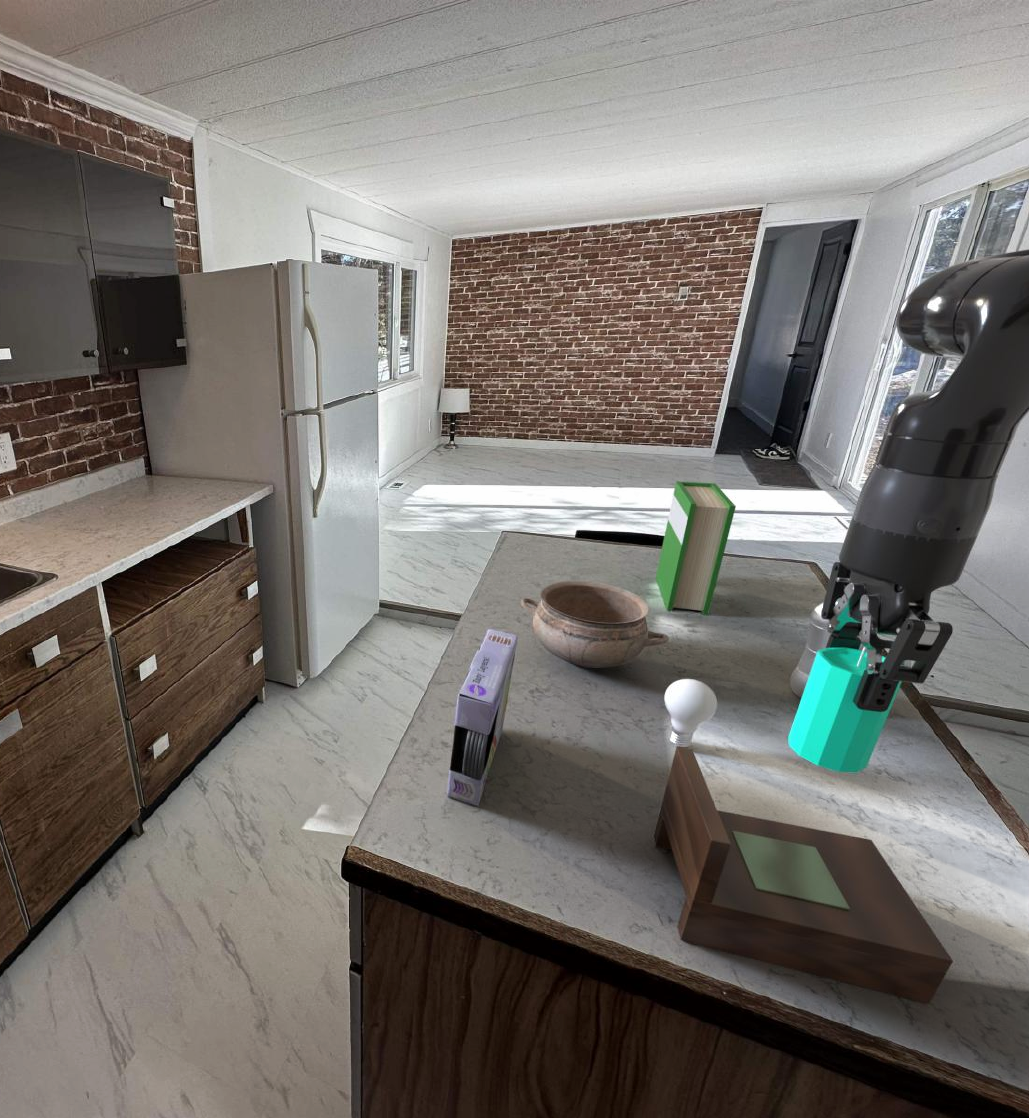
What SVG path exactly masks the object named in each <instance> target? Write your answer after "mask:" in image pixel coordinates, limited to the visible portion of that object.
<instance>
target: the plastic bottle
mask: <svg viewBox="0 0 1029 1118" xmlns="http://www.w3.org/2000/svg"><path fill="white" fill-rule="evenodd" d="M840 599H841V598H839V599H837V602H836V604H837V603H838V601H839V600H840ZM823 603H824V601H823V602H821V603H819V604H818V605H816V606H815V607H814V608H813V609H812V611H811V612H810V616H809V627H808V635H807V639H806V644H805V647H804V651H803V653H802V655H801V657H800V658H799V659H800V660H799V661H798V663H797V665H796V667H795V668H794V670H793V671H792V673H791V675H790V681H789V687H790V688H791V691H792V692H793V693H794V694H795V695H796V696H797V697H799V698H801V699H802V696H803V693H804V690H805V687H806V684H807V681H808V678H809V675H810V672H811V669H812V667H813V664H814V661H815V658H816V655H817V652H818V650H821V649H825V648H826V645H827V643H828V640H829V637H830V634H831V633H829V632H828V630H827V625H828V623H829V620H826V619H822V617H821V611H822V607H823ZM857 637H859V638H860V639H861V636H857Z"/></svg>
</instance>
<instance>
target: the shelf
mask: <svg viewBox="0 0 1029 1118" xmlns="http://www.w3.org/2000/svg"><path fill="white" fill-rule="evenodd" d="M655 824H656V825H655V829H654V831H653V832H654V833H653V836H652V837H653V841H654V844H655V847H657V848H662V849H666V850H671V851H672V853H673V857H674V861H675V864H676V868H677V871H678V874H679V877H680V881H681V885H682V887H683V891H684V895H685V899H684V903H683V907H682V910H681V913H680V917H679V920H678V923H677V926H676V927H677V930H678V931H677V932H678V935H679V938H680V940H681V941H683V942H687V943H691V944H695V945H699V946H703V947H705V948H710V949H713V950H714V949H715V950H718V951H721V952H726V953H730V954H733V955H737V956H741V957H745V958H748V959H752V960H757V961H761V962H765V963H768V964H772V965H777V966H780V967H784V968H788V969H791V970H795V971H800V972H803V973H807V974H811V975H815V976H819V977H823V978H826V979H830V980H834V981H838V982H842V983H846V984H849V985H853V986H857V987H862V988H865V989H868V990H873V991H877V992H881V993H884V994H888V995H892V996H897V997H900V998H903V999H909V1000H912V1001H916V1002H920V1003H924V1004H928V1005H929V1004H930V1003H931V1001H932V999H933V998H934V996H935V994H936V992H937V991H938V989H939V987H940V985H941V984H942V982H943V980H944V979H945V976H946V975H947V973H948V971H949V969H950V968H951V966H952V964H953V962H954V961H953V958H952V957H951V956H950V954H949V953H948V952H947V950H946V948H945V947H944V945H943V944H942V942H941V941H940V939H939V938H938V937H937V935H936V933H935V932H934V931H933V929H932V927H931V926H930V924H929V923H928V922H927V920H926V919H925V917H924V916H923V914H922V913H921V911H920V910H919V909H918V907H917V905H916V904H915V902H914V901H913V899H912V898H911V896H910V894H909V893H908V892H907V890H906V889H905V888H904V886H903V884H902V883H901V882H900V880H899V879H898V877H897V876H896V874H895V872H894V871H893V870H892V868H891V867H890V866H889V864H888V862H887V860H886V859H885V858H884V856H883V855H882V853H881V852H880V850H879V849H878V847H877V846H876V844H875V843H874V842H873V840H872V839H869V838H864V837H858V836H854V835H848V834H843V833H839V832H838V833H837V832H832V831H827V830H823V829H817V828H812V827H807V826H802V825H798V824H797V825H796V824H793V823H791V824H790V823H786V822H780V821H776V820H770V819H765V818H759V817H755V816H749V815H745V814H740V813H734V812H729V811H723V810H718V809H717V807H716V804H715V801H714V799H713V797H712V794H711V792H710V789H709V787H708V784H707V783H706V780H705V776H704V774H703V772H702V770H701V767H700V765H699V762H698V760H697V757H696V754H695V752H694V750H693V749H692V748H688V747H680V746H676V747H675V751H674V754H673V759H672V763H671V766H670V770H669V775H668V778H667V782H666V786H665V790H664V794H663V798H662V802H661V806H660V810H659V813H658V817H657V820H656V823H655Z"/></svg>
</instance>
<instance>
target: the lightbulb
mask: <svg viewBox="0 0 1029 1118" xmlns="http://www.w3.org/2000/svg"><path fill="white" fill-rule="evenodd" d="M663 700H664V705H665V708H666V710H667V711H668V713H669V715H670V720H671V721H670V723H671V730H670V731H671V732H670V734H669V739H668V740H669V741H670V743H672V744H674V745H676V747H683V748H688V747H690V746H691V744H692V740H693V736H694V734H695V732H697V730H698V729H699V727H700V726H701V725H703V724H705V723H706V722H708V721H709V720H711V719H713V717H714V716H715V714H716V712H717V709H718V699H717V696H716V693H715V692H714V691H713V689H712V688H711V687H710V686H708V685H707V684H706V683H704V682H703V681H700V680H698V679H694V678H693V679H692V678H681V679H678V680H675V681H673V682H672V683H671V684H670V685H668V687H667V688H666V690H665V692H664V697H663Z"/></svg>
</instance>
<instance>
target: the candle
mask: <svg viewBox="0 0 1029 1118" xmlns="http://www.w3.org/2000/svg"><path fill="white" fill-rule="evenodd" d="M885 658H886V656H883V655H882V662H884V660H885ZM866 663H867V648H866V647H865V646H863V649H859V650H858V649H852V648H847V647H837V648H825V649H821V650H818V652H817V655H816V658H815V661H814V664H813V667H812V669H811V672H810V675H809V678H808V681H807V684H806V687H805V690H804V693H803V696H802V698H801V699H800V701H799V705H798V707H797V711H796V713H795V716H794V719H793V722H792V726H791V729H790V732H789V734H788V746H789V747H790V749H792V750H793V751H794V752H795V753H796V755H798V756H799V757H800V758H802V759H805V760H806V761H808V762H810V763H812V764H813V765H815V766H818V767H821V768H824V769H826V770H827V769H828V770H831V771H834V772H837V773H850V774H851V773H853V774H854V773H855V774H857V773H860V772H861V771H863V770H865V769H867V767H868V764H869V762H870V759H871V757H872V755H873V752H874V750H875V748H876V745H877V743H878V740H879V738H880V737H881V733H882V730H883V728H884V726H885V723H886V722H887V719H888V716H889V714H890V711H891V709H892V706H893V704H894V702H895V699H896V696H897V694H898V692H899V690H900V687H901V684H902V683H903V681H900V682H899V683H898V686H897V688H896V691H895V693H894V695H893V698H892V700H891V703H890V705H889V707H888V709H887V710H886V711H884V712H876V711H868V710H861V709H859V708H858V707H857V706H856V705H855V704H854V703H853V699H854V696H855V694H856V691H857V688H858V686H859V683H860V680H861V678H862V675H863V673H864V670H866Z"/></svg>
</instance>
